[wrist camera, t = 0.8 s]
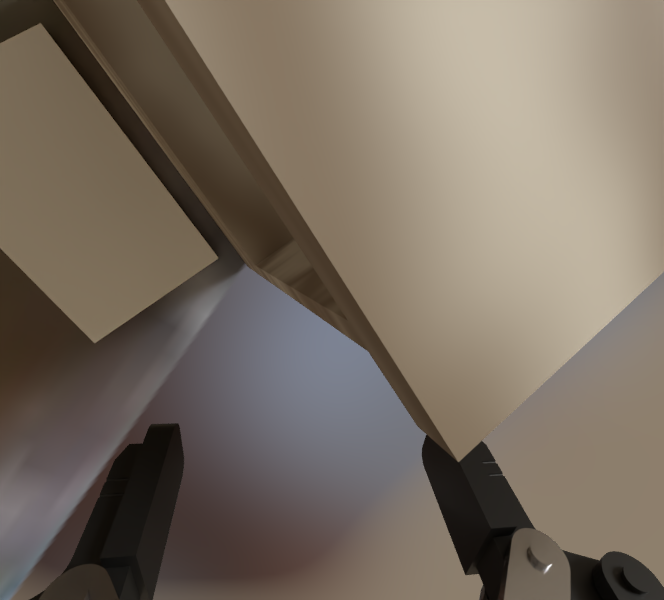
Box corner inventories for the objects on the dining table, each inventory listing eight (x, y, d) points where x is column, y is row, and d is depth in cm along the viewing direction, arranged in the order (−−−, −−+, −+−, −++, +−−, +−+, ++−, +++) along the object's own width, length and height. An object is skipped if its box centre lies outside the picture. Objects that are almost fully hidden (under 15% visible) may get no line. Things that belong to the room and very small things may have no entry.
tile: (97, 340, 28) (94, 343, 27) (-125, 115, 22) (-136, 111, 21) (218, 257, 30) (218, 258, 29) (45, 29, 24) (40, 22, 23)
